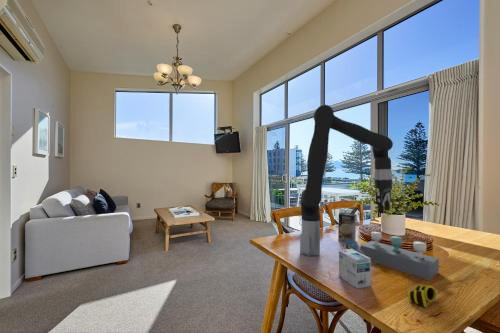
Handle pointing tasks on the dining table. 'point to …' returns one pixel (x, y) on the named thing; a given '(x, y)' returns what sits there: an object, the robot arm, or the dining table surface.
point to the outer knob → (419, 249)
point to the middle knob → (396, 243)
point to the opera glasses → (422, 295)
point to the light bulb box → (355, 268)
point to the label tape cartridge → (353, 246)
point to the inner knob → (376, 238)
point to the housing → (402, 260)
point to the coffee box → (347, 227)
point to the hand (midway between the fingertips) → (384, 211)
